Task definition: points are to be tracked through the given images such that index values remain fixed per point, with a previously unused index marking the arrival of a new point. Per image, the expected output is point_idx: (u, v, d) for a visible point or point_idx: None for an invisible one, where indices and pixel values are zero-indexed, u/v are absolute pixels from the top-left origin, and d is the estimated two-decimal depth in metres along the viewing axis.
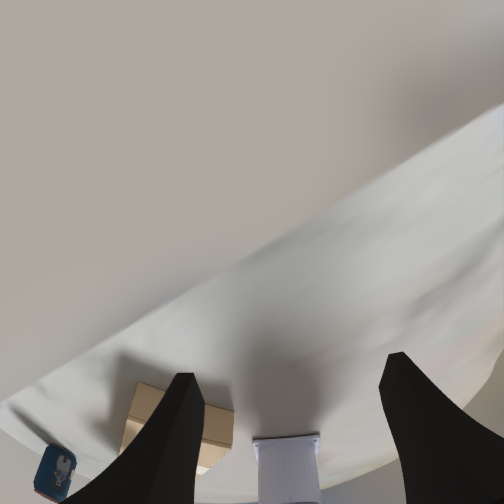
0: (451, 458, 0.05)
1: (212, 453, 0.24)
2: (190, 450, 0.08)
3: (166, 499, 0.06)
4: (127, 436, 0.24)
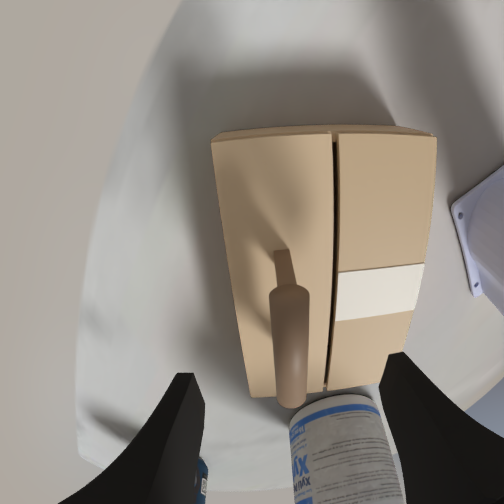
0: (451, 458, 0.05)
1: (414, 180, 0.12)
2: (190, 450, 0.08)
3: (166, 499, 0.06)
4: (234, 239, 0.13)
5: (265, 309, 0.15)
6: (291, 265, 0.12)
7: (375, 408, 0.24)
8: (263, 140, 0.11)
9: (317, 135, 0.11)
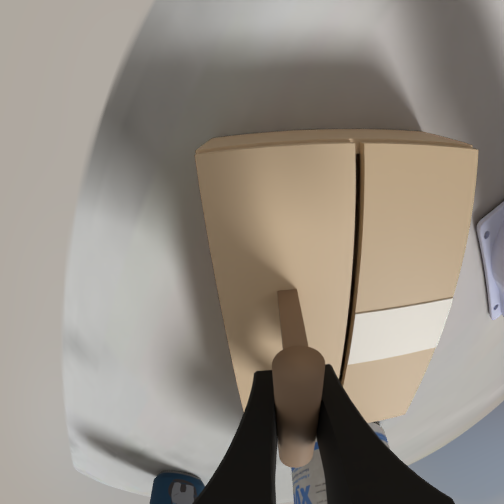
0: (346, 490, 0.05)
1: (451, 203, 0.09)
2: (275, 450, 0.08)
3: None
4: (228, 277, 0.10)
5: (266, 354, 0.12)
6: (300, 314, 0.09)
7: (382, 434, 0.21)
8: (264, 151, 0.08)
9: (337, 145, 0.08)
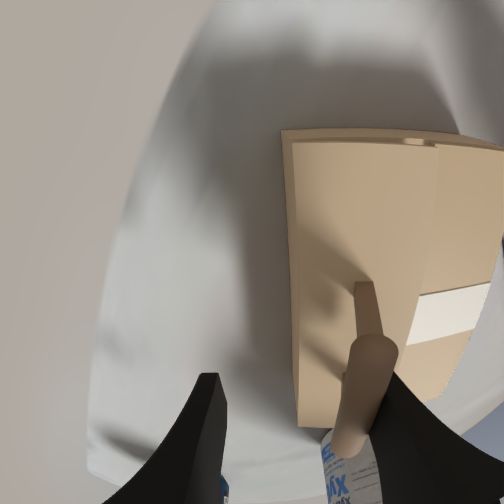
0: (422, 469, 0.05)
1: (494, 198, 0.09)
2: (216, 451, 0.08)
3: (198, 503, 0.06)
4: (311, 264, 0.11)
5: (333, 344, 0.12)
6: (376, 305, 0.09)
7: None
8: (358, 146, 0.08)
9: (423, 148, 0.08)
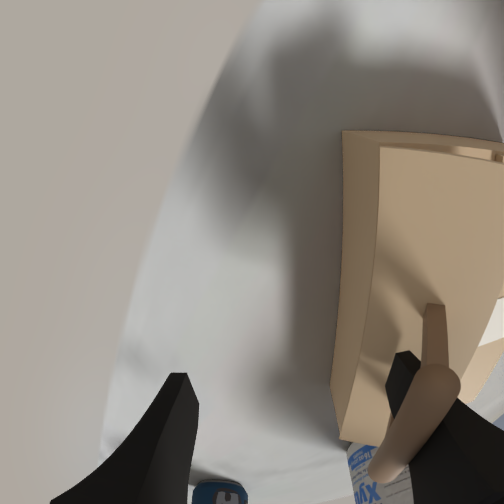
0: (460, 455, 0.05)
1: None
2: (183, 450, 0.08)
3: (158, 498, 0.06)
4: (385, 279, 0.09)
5: None
6: (446, 332, 0.07)
7: None
8: (448, 158, 0.07)
9: None
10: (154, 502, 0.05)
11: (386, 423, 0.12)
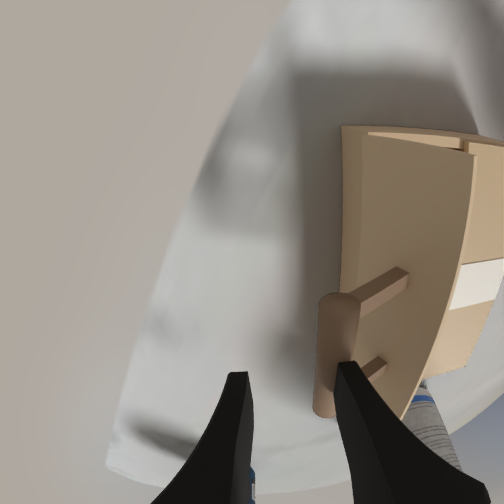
0: (384, 481, 0.05)
1: None
2: (247, 451, 0.08)
3: None
4: (368, 237, 0.12)
5: (375, 320, 0.13)
6: (386, 286, 0.10)
7: (432, 398, 0.23)
8: (404, 144, 0.09)
9: (458, 153, 0.07)
10: None
11: None
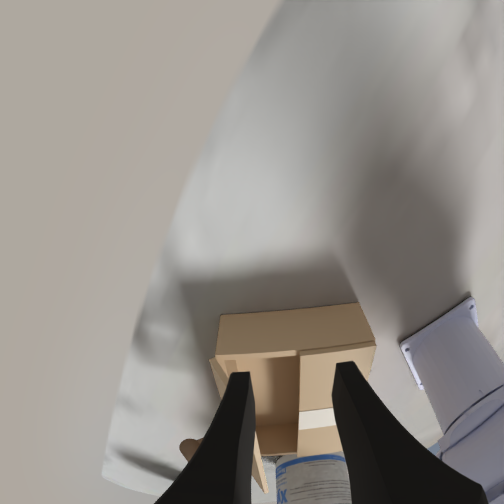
0: (381, 482, 0.05)
1: None
2: (249, 451, 0.08)
3: None
4: None
5: None
6: None
7: (340, 456, 0.30)
8: (222, 382, 0.16)
9: None
10: None
11: None
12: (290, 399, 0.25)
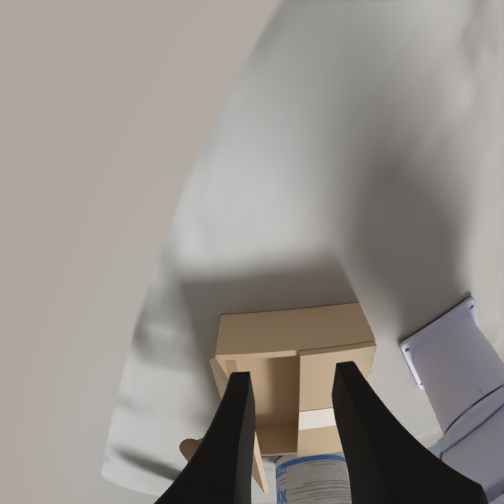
0: (381, 482, 0.05)
1: None
2: (249, 451, 0.08)
3: None
4: None
5: None
6: None
7: (340, 456, 0.30)
8: (222, 382, 0.16)
9: None
10: None
11: None
12: (290, 399, 0.25)
